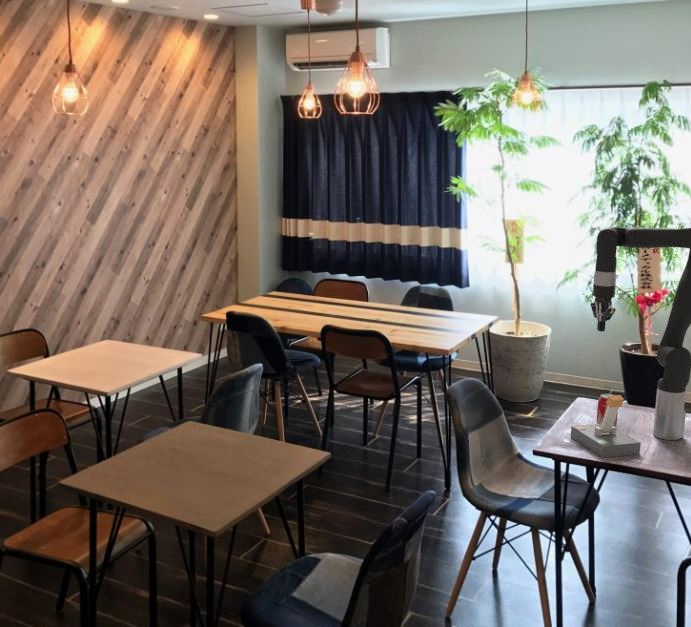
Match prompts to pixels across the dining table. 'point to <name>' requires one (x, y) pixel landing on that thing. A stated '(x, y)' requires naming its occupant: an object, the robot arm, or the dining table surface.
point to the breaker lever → (611, 412)
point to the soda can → (603, 408)
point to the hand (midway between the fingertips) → (600, 330)
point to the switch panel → (605, 440)
